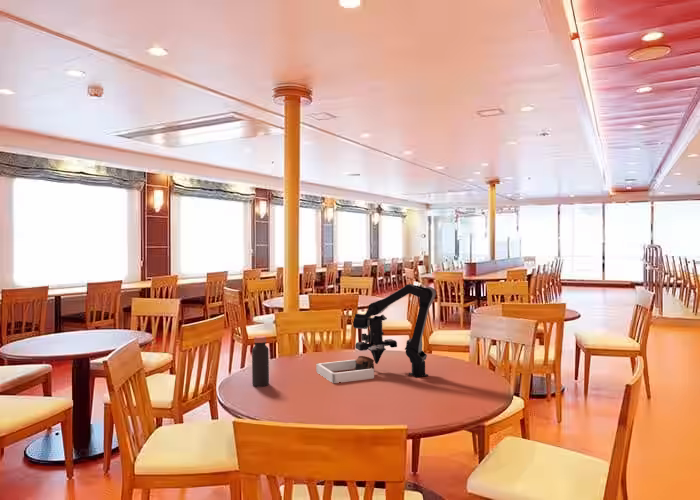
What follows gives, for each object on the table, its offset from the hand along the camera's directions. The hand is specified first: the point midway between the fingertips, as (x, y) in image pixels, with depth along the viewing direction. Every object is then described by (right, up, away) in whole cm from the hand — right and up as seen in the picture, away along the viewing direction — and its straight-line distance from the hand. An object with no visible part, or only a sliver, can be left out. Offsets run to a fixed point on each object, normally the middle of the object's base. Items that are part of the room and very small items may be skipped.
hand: (376, 363), depth 228 cm
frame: (-15, -4, -6) cm, 16 cm away
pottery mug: (-5, -4, -2) cm, 7 cm away
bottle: (-49, -4, -20) cm, 54 cm away
